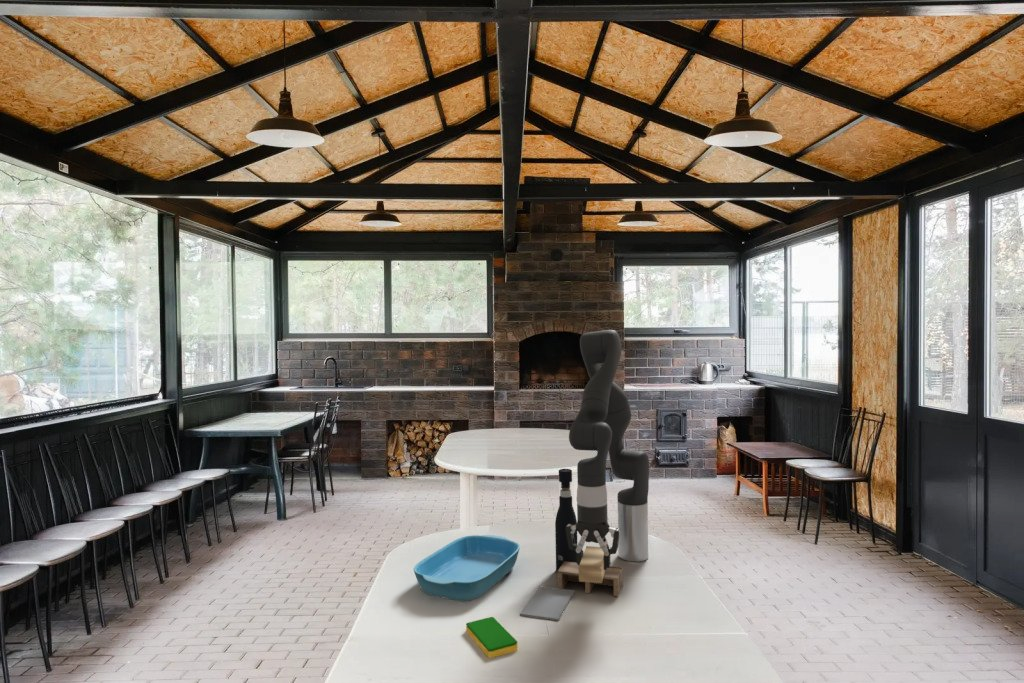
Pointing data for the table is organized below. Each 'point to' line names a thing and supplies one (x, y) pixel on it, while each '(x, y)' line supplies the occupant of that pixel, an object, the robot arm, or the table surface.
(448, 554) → the casserole dish
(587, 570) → the oak block
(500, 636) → the dish sponge
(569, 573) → the walnut shelf
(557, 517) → the wine bottle
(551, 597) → the slate mat
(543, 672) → the table surface
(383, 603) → the table surface
